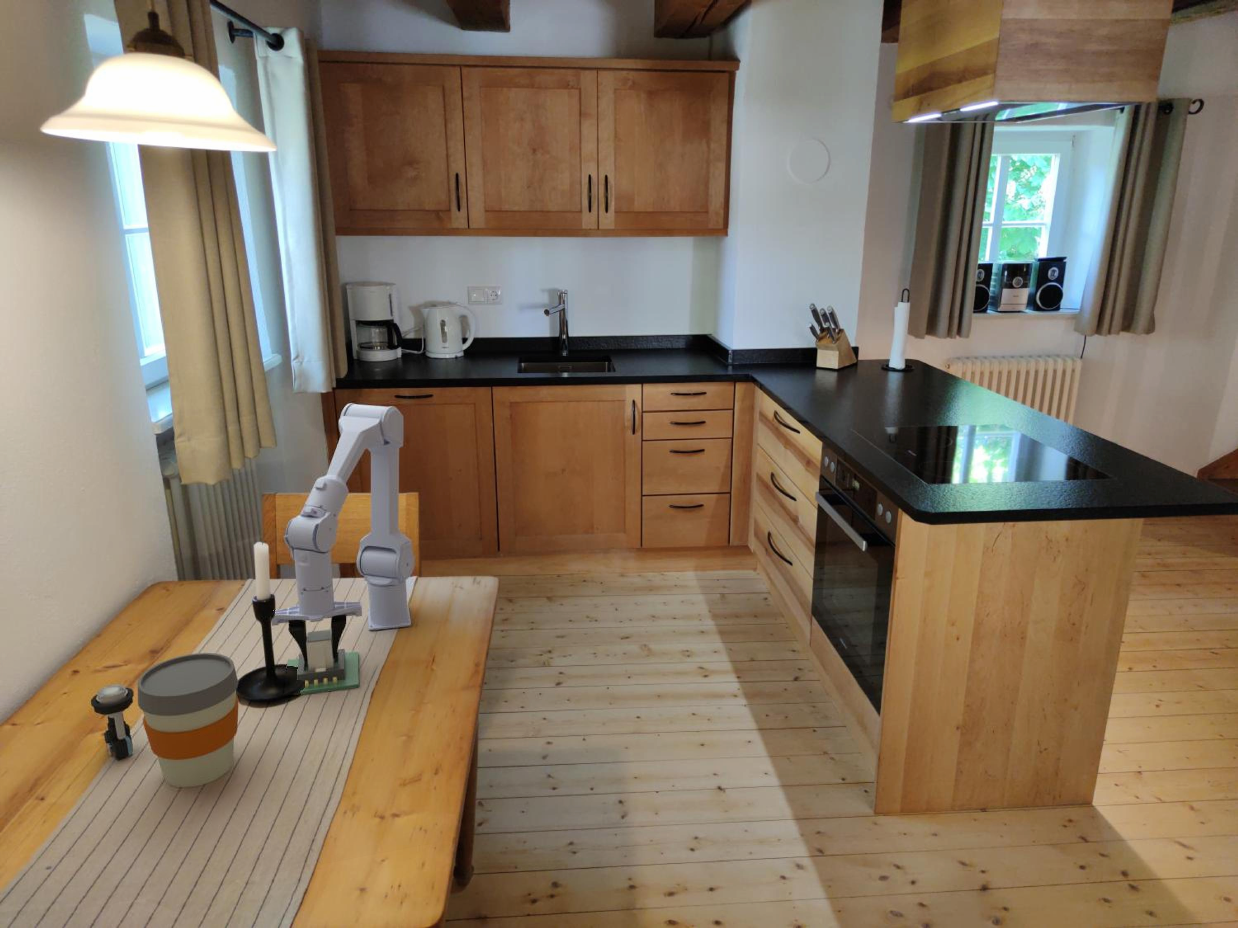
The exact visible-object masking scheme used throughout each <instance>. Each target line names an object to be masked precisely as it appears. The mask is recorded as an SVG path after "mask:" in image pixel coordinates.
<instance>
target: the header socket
mask: <svg viewBox="0 0 1238 928" xmlns="http://www.w3.org/2000/svg"><path fill="white" fill-rule="evenodd" d="M345 649H346V648H338V650H337V658H334V668H326V667H325V668H317V669H316V670H310V671H309V669H308V661H307V662H304V658H303V654H302V653H299V655H298V658H294V659H288V660H287V665H286V667H287V666H294V667H298V669H297V680H302V681H305V688H304V689H303V690H301V691H300V693H301V695H300V696H303V695H310V694H311V695H312V694H319V693H327V692H334V691H342V690H350V689H356V688H359V687H360V686H359V685H360V684H359V681H360V679H359V677H360V675H359V652H358V651H353V652H345V651H346V650H345Z"/></svg>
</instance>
